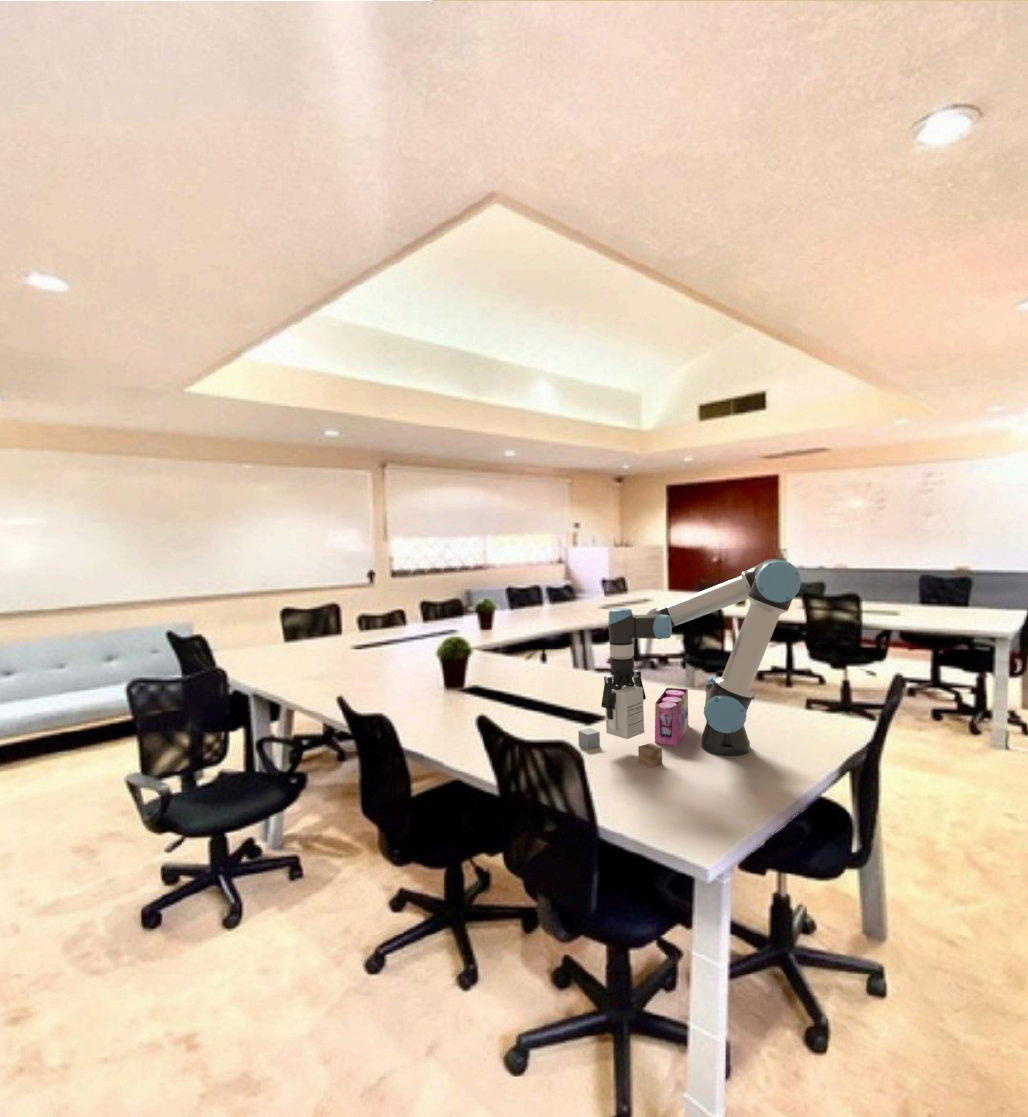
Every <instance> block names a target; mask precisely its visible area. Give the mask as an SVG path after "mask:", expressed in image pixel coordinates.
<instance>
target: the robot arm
mask: <svg viewBox="0 0 1028 1117" xmlns="http://www.w3.org/2000/svg"><path fill="white" fill-rule="evenodd" d="M801 579H802V578H801V574H800V572H799V570H798V569H797V567H796V566H795V565H793V563H791V562H789V561H786V560H784V559H782V558H770V559H769V558H768V559H765V560H764V561H762V562H761V563H759V564H756V565H755V566H753V567H751V568H749V569H747V570H744V571H742V572H741V574H740V575H739V576H736V577H735V578H732V579H729V580H727V581H724V582H721V583H719V584H717V585H714V586H712V587H709V588H706V589H704V590H701V591H698V592H696V593H693V594H691V595H688V596H685V597H683V598H680V599H678V600H675V601H672V602H671V603H668V604H666V605H662V606H660V607H656V608H653V609H651V610H649V611H647V613H646V614H634V613H633V611H632V609H631V608H628V607H627V608H626V607H618V608H612V609H610V610H609V611H608V623H607V624H608V638H609V656H610V662H609V664H610V669H611V675H608V676H607V675H605V676H604V677H603V680H604V685H603V691H602V692H603V693H602V699H601V705H600V706H601V708H604V709H605V710H606V709H607V718H608V719H609V728H610V729H613V730H617V727H616V709H613V708H614V706H615V703H616V693H611V692H612V689H614V690H621V688H622V687H623V686H625V685H627V686H631V687H633V686H638V687H643V701H644V700H645V701H646V698H647V696H646V691H645V689H644V684H643V681H642V671H641V670H636V669H635V658H634V656H635V655H634V654H635V652H634V639H636V640H637V639H652V640H653V639H655V640H656V639H657V640H662V639H663V640H664V639H665V640H666V639H667V640H668V639H670V638H671V636H672V630H673V629H672V628H674V627H676V626H678V625H681V624H684V623H687V622H689V621H692V620H695V619H698V618H700V617H703V616H706V615H709V614H711V613H714V612H716V611H719V610H721V609H725V608H727V607H729V606H734V605H735V604H738V603H741V602H743V601H746V600H749V603H750V604H749V605H750V606H749V607H748V610H747V612H746V615H745V617H744V620H743V622H742V625H741V627H740V630H739V632H738V635H737V638H736V640H735V643H734V644H733V647H732V650H731V652H730V655H729V657H728V660H727V663H726V665H725V668H724V670H723V673H722V675H721V676H709V677H707V678H706V679H705V686H704V687H705V702H704V707H703V715H704V718H705V721H706V723H705V726H704V729H703V732H702V735H701V739H700V745H701V748H702V749H704V751H706V752H709V753H712V754H716V755H721V756H741V755H745V754H748V753H750V751H751V742H750V739H749V737H748V734H747V731H746V727H745V723H746V721H747V713H748V709H749V707H750V706H751V703H752V700H753V697H754V694H753V691H752V689H751V687H752V685H753V682H754V680H755V677H756V675H757V672H758V670H759V668H760V666H761V663H762V660H763V658H764V655H765V653H766V650H767V649H768V645H769V643H770V641H771V638H772V636H773V633H774V631H775V629H776V626H777V624H778V621H779V619H780V616H781V615H782V614H784V613H787V612H788V611H789V609H790V607H791V604H792V602H793V600H794V597H795V596H797V594H798V593H799V591H800V588H801V585H802V580H801ZM616 685H617V686H616ZM610 704H611V705H610Z"/></svg>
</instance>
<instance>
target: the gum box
mask: <svg viewBox="0 0 1028 1117" xmlns="http://www.w3.org/2000/svg"><path fill="white" fill-rule="evenodd" d="M688 690H689V689H687V688H677V687H676V688H674V687H666V688H665V690H664V691H663V693H662V694H661V695H660V696H659V697H658V699H657V700H656V701H655V703H654V704H655V705H654V706H655V708H654V712H655V713H654V717H655V718H654V743H655V744H660V745H661V744H662V745H663V744H664V745H670V746H679V744H680V743H681V741H682V740H681V739H682V738H683V737H684V735H685V733H686V731H687V730H688V728H689V696H688V695H689V693H688V692H689V691H688Z"/></svg>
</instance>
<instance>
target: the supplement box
mask: <svg viewBox="0 0 1028 1117" xmlns="http://www.w3.org/2000/svg"><path fill="white" fill-rule="evenodd" d="M616 686H617V685H616ZM643 688H644V686H643V687H638V686H633V687H631V686H627V685H625V686H623V687H622V688H621V690H614V689H612V692H611V693H616V703H615V706H614V708H613V709H616V727H617V730H613V729H610V728H609V719H608V718H607V709H606V708H605V728H606V731H605V732H606V734H608V735H612V736H615V737H620V738H621V739H622V738H623V739H625V740H629V739H631V738H634V737H636V736H639V735H643V734H644V733H645V715H644V712H645V711H644V700H643ZM610 705H611V704H610Z"/></svg>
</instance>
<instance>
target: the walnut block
mask: <svg viewBox="0 0 1028 1117" xmlns="http://www.w3.org/2000/svg"><path fill="white" fill-rule="evenodd" d="M637 750H638V752H637V753H638V763H639V764H642V765H644V766H646V767H649V768H653V767H656V766H659V765H663V748H662V747H661V746H658V745H655V744H653V743H650V742H649V743H646V744H643V745H639V746H638V749H637Z"/></svg>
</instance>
